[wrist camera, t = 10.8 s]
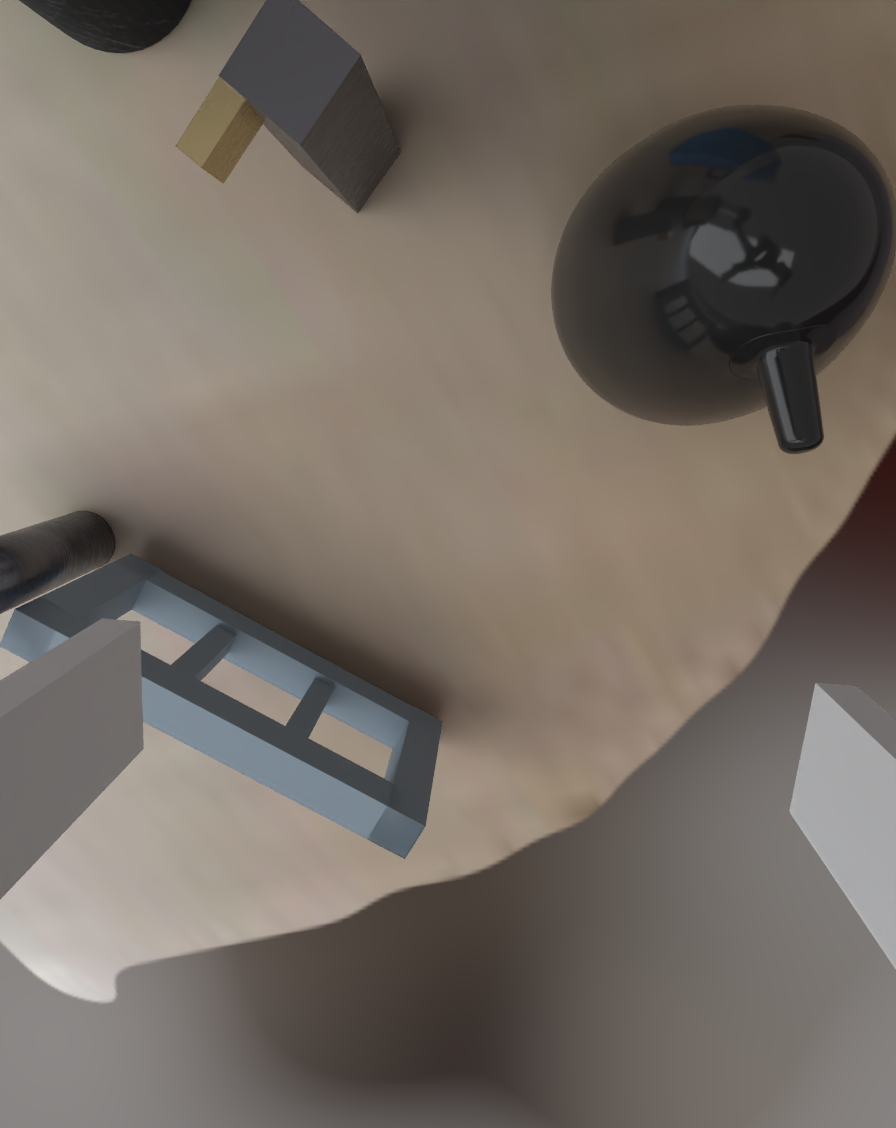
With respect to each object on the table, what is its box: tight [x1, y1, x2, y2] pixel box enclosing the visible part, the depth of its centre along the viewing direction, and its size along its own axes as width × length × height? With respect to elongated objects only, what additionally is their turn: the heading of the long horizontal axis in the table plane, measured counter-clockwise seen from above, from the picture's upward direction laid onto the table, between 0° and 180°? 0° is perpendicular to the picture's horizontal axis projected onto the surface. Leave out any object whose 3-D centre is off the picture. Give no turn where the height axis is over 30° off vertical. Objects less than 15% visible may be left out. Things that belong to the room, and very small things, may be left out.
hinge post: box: [0, 511, 115, 614], centre depth 31 cm, size 3×3×10 cm
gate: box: [0, 554, 442, 859], centre depth 32 cm, size 2×17×9 cm, turn 61°
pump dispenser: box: [551, 104, 896, 454], centre depth 25 cm, size 10×10×15 cm
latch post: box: [176, 0, 401, 213], centre depth 27 cm, size 4×5×10 cm, turn 141°
